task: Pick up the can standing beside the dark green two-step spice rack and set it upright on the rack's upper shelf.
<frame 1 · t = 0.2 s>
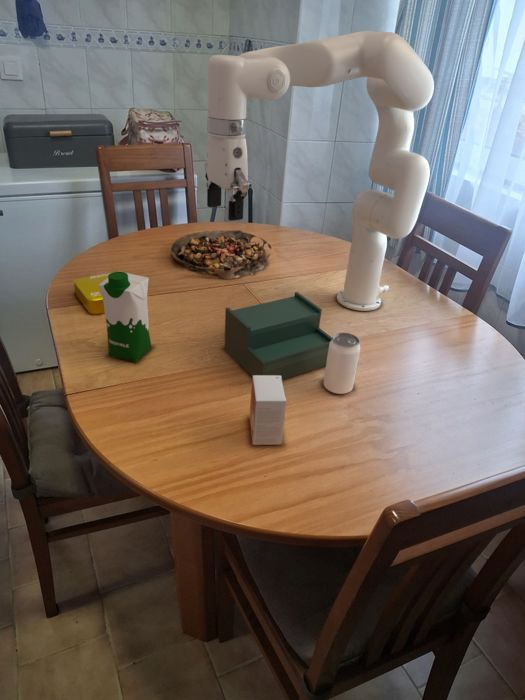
hand: (224, 212, 110), 31 cm above the table, tool pointing down, fingers open, 9 cm apart
small box: (264, 432, 98), on the table
can: (337, 386, 112), on the table
milk carton: (130, 352, 118), on the table
food dish: (221, 257, 169), on the table
yellow tin box: (109, 299, 140), on the table
step rack: (278, 356, 120), on the table
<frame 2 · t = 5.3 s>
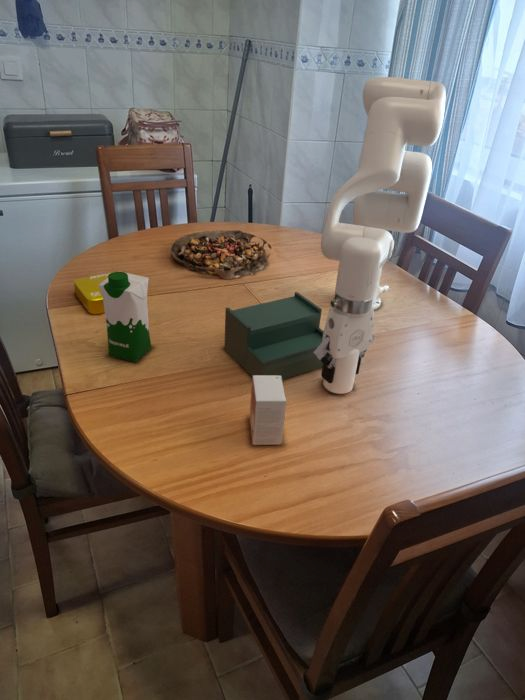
hand: (339, 374, 110), 3 cm above the table, tool pointing down, fingers closed on can, 6 cm apart
can: (337, 387, 112), on the table, touching gripper
everything else where it was.
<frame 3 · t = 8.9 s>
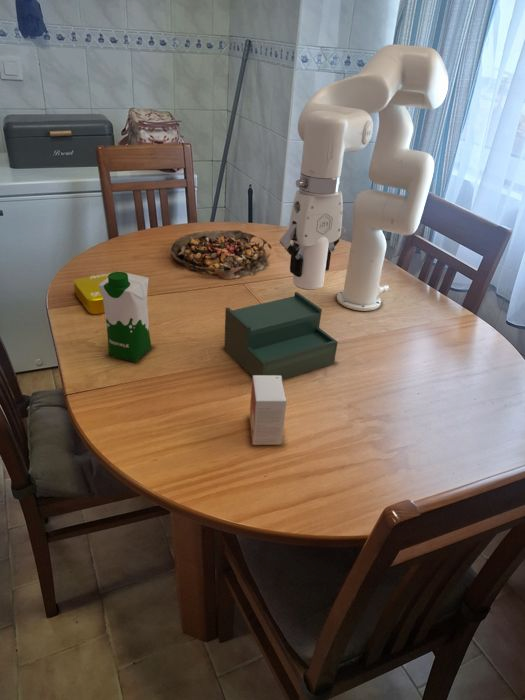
hand: (309, 270, 106), 23 cm above the table, tool pointing down, fingers closed on can, 6 cm apart
can: (307, 284, 108), point 20 cm above the table, touching gripper
everything else where it was.
when the fingers open (13 cm above the table, at t = 12.6 s): can stays where it is, resting on step rack.
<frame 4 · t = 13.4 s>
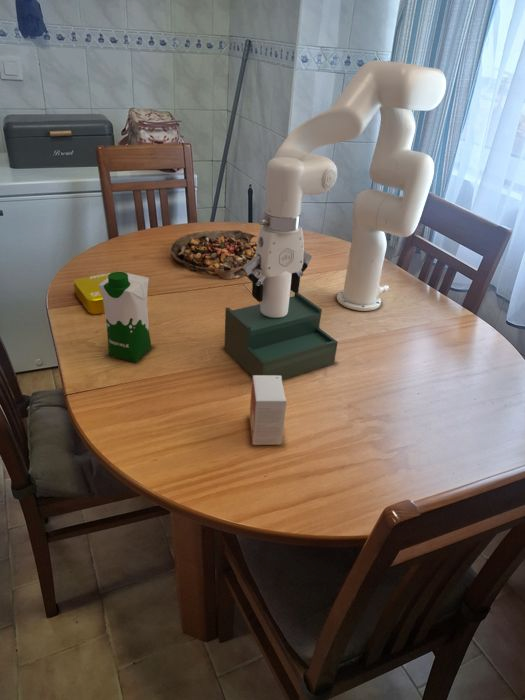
hand: (275, 295, 115), 14 cm above the table, tool pointing down, fingers open, 9 cm apart
can: (273, 313, 118), point 10 cm above the table, touching step rack
everything else where it was.
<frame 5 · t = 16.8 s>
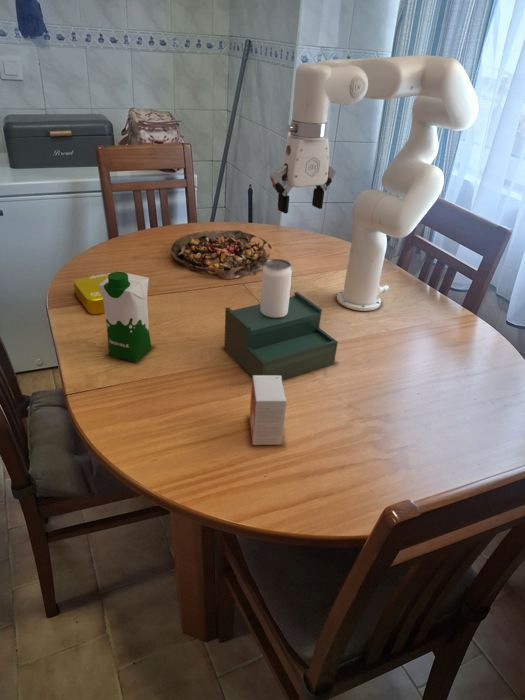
hand: (300, 209, 118), 30 cm above the table, tool pointing down, fingers open, 9 cm apart
nothing on the table moved.
at the end: can inside the target area on the step rack (0.0 cm from its centre), point 9.8 cm above the step rack's base; can tilted 0°; the gripper is holding nothing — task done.
